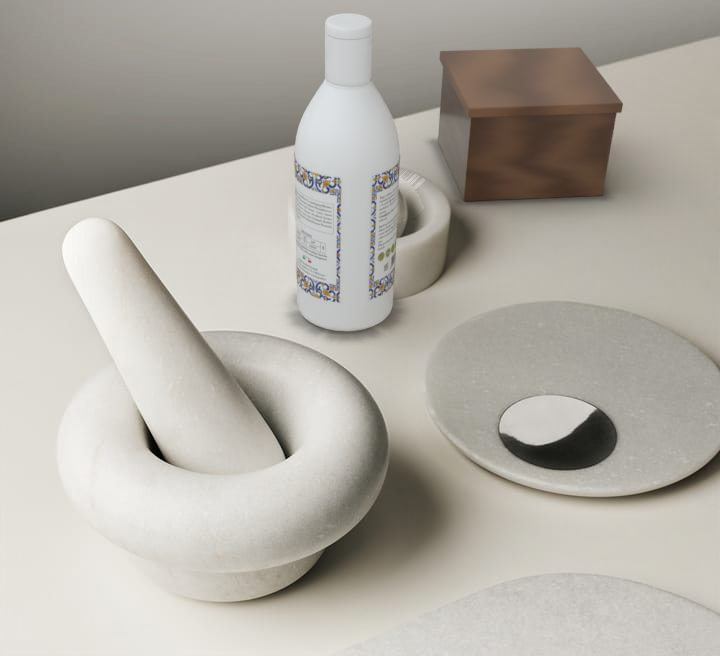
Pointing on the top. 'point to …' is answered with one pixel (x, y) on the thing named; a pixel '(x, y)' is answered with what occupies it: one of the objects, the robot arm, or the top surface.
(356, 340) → the top surface
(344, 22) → the bath foam
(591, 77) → the walnut box
